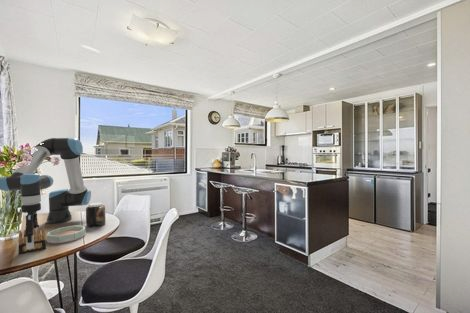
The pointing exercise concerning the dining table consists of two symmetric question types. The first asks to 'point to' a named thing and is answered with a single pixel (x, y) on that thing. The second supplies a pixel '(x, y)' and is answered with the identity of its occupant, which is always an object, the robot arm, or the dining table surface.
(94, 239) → the dining table surface
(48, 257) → the dining table surface
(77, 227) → the octagonal tray
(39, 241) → the ammunition clip
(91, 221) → the jar
